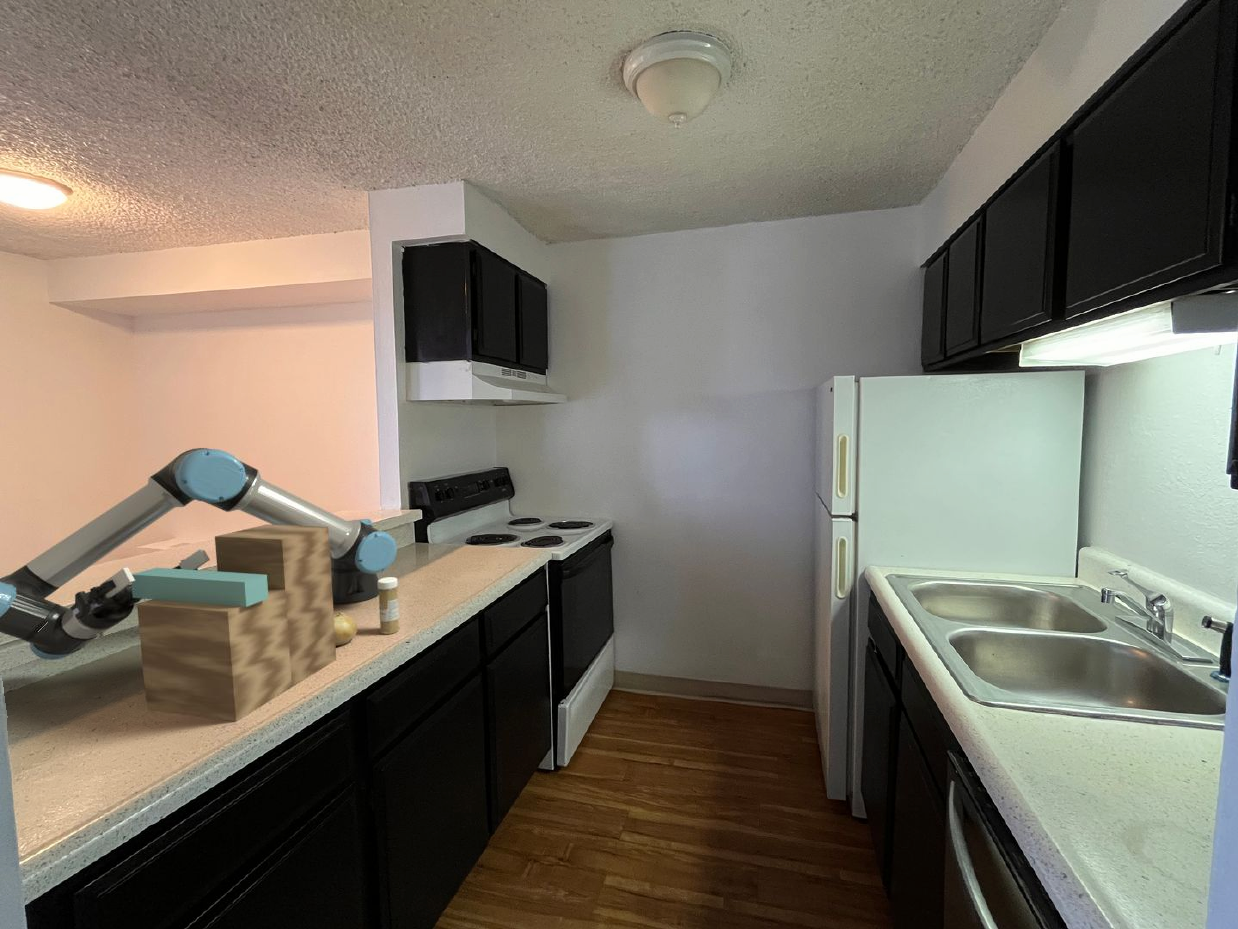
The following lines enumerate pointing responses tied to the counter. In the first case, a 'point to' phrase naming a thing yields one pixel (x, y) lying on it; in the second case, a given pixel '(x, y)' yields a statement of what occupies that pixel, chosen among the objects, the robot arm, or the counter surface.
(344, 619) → the onion
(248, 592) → the slim box
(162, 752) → the counter surface
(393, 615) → the sprinkles bottle
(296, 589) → the wooden step block
